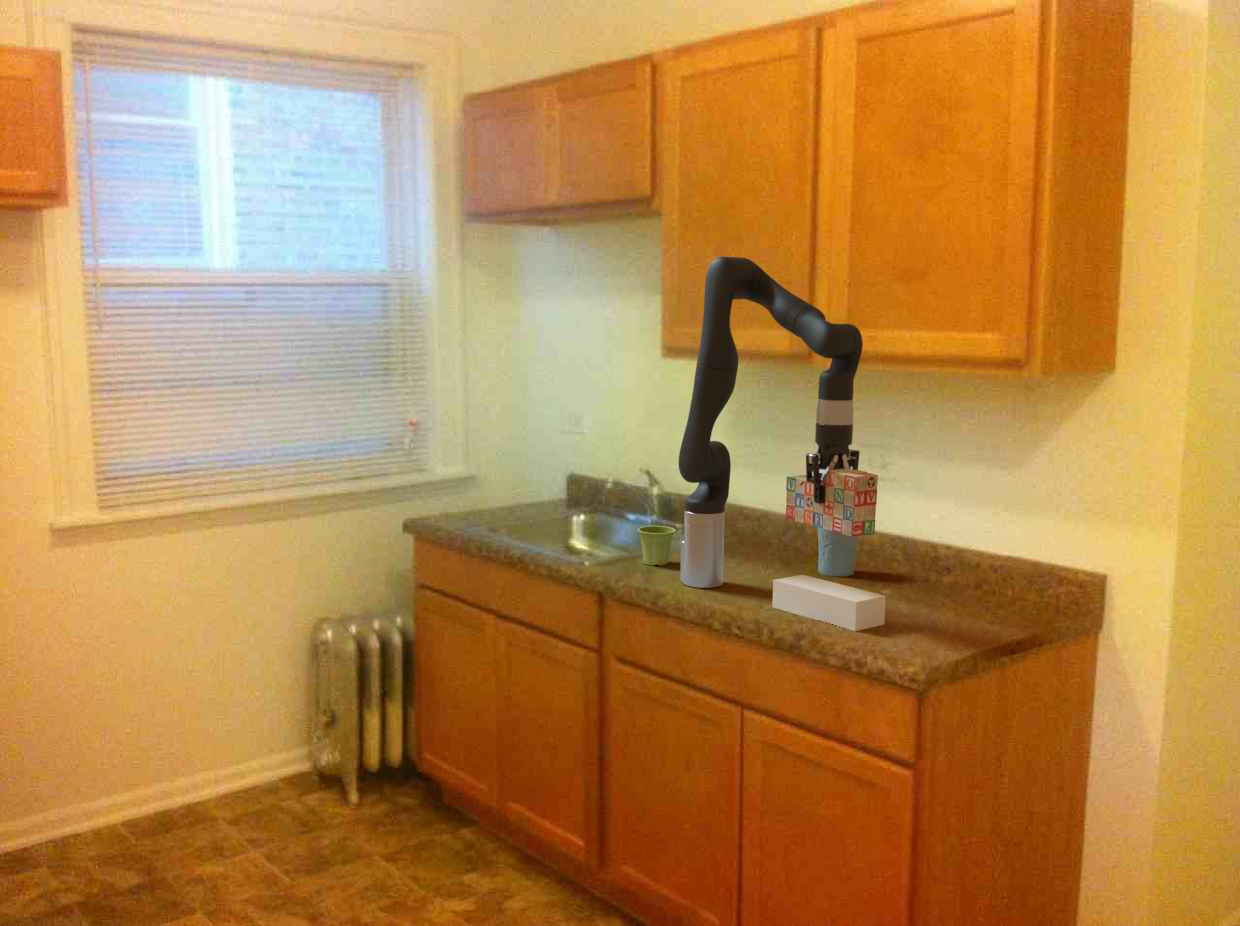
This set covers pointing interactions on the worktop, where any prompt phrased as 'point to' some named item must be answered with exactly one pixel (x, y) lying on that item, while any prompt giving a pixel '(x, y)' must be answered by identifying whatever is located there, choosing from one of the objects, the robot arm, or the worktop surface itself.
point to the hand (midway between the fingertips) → (831, 501)
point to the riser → (829, 602)
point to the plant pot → (656, 544)
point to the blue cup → (836, 553)
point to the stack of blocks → (835, 502)
